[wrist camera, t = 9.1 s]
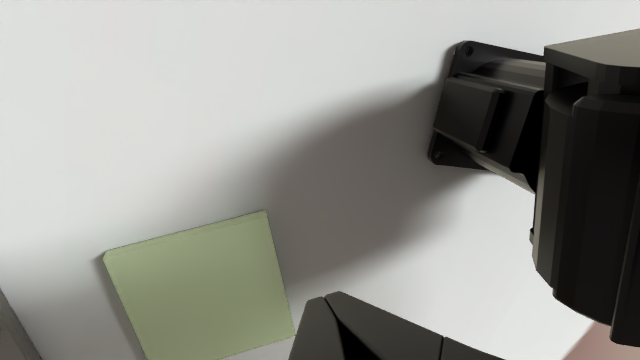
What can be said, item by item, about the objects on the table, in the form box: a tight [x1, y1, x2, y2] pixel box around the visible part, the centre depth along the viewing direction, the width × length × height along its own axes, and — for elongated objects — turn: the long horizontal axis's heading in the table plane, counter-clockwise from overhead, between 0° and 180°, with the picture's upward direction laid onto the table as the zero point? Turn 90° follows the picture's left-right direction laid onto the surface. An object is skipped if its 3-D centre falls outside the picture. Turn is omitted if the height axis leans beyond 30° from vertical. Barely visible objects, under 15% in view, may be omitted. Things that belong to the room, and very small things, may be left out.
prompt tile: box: [103, 210, 296, 360], centre depth 22 cm, size 8×8×1 cm
